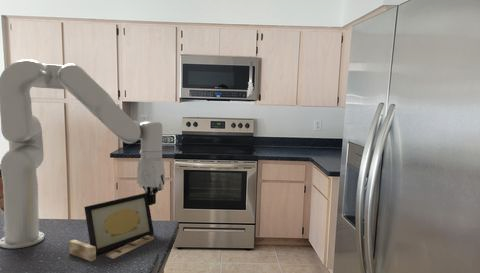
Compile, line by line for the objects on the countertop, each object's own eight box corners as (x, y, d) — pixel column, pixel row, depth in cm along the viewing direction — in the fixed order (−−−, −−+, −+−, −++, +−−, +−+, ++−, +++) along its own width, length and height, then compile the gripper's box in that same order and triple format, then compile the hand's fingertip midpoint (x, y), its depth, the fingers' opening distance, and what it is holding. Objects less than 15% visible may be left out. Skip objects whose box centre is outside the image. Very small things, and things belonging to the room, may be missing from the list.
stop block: (69, 253, 105) (69, 241, 104) (74, 251, 106) (74, 239, 106) (91, 261, 100) (91, 248, 100) (95, 259, 102) (95, 246, 101)
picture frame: (93, 255, 104) (90, 207, 103) (79, 250, 109) (76, 204, 109) (154, 234, 122) (151, 193, 122) (139, 231, 127) (136, 191, 127)
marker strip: (106, 256, 104) (106, 253, 104) (147, 237, 120) (147, 234, 120) (113, 258, 102) (113, 255, 102) (154, 239, 118) (154, 236, 118)
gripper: (128, 154, 123) (128, 203, 125) (160, 158, 116) (159, 210, 118) (143, 152, 130) (143, 198, 132) (174, 156, 123) (173, 205, 125)
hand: (151, 204), depth 125 cm, fingers closed
